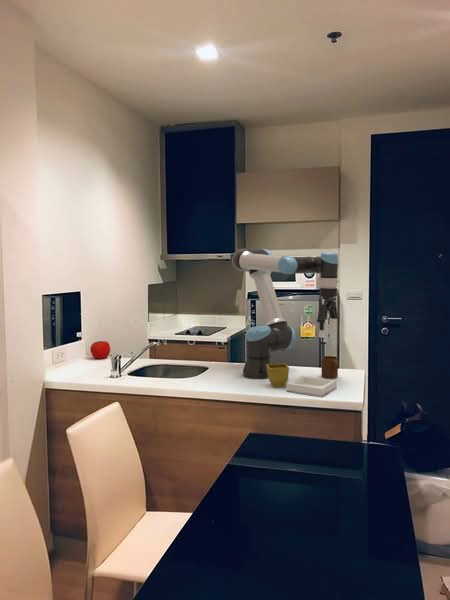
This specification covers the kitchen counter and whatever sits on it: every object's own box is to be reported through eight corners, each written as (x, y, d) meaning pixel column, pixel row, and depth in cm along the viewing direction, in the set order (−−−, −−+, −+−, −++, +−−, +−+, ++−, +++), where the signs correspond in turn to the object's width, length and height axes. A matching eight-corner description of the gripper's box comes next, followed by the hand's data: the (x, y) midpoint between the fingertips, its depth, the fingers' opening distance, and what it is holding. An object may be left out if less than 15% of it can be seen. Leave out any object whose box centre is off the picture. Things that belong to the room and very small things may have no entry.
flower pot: (269, 388, 219) (269, 368, 218) (266, 383, 228) (266, 363, 227) (289, 388, 220) (289, 367, 219) (285, 383, 229) (285, 363, 228)
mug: (344, 380, 232) (345, 360, 232) (329, 381, 231) (329, 361, 230) (333, 374, 244) (333, 355, 243) (318, 375, 242) (318, 356, 241)
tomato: (114, 356, 294) (113, 338, 294) (105, 360, 282) (104, 342, 281) (96, 355, 297) (95, 338, 296) (86, 360, 284) (85, 342, 283)
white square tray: (286, 391, 214) (286, 383, 213) (302, 383, 227) (302, 376, 227) (322, 397, 205) (322, 388, 205) (336, 388, 218) (336, 380, 218)
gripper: (327, 289, 210) (326, 340, 212) (345, 286, 232) (344, 331, 234) (310, 289, 214) (309, 338, 216) (329, 285, 235) (328, 330, 238)
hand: (327, 335), depth 225 cm, fingers open, 13 cm apart
